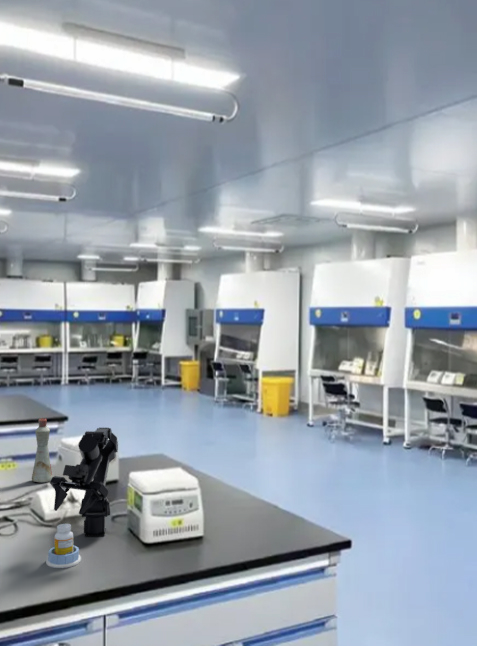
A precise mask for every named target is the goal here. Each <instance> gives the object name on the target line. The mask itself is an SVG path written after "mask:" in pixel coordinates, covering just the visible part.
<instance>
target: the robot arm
mask: <svg viewBox="0 0 477 646" xmlns="http://www.w3.org/2000/svg"><path fill="white" fill-rule="evenodd" d="M112 431H113V430H112V428H111V427H97V428H96V430H95V431H93V430H92V431H89V430H87V431H85V433H84V434H82V436H81V439H80V440H79V442H78V449H79V452H80V456H81V461H80V463H79V464H76V465H71V464H70V465H69V464H65V465H64V468H63V472H62V476H58V475H55V476H52V479H51V481H49V484H50V486H51V488H53V490H54V493H55V494H54V495H55V497H54V505H53V511H58V510H59V509H60V507H61V505H62V504H63V503H64V501H65V499H66V498H67V497H68V492H69V491H70V489H72V490H78V491H85V492H84V496H83V498H81V503H80V504H81V505H80V508H79V510H78V514H79V515H81V517H82V518H84V520H83V534H84V537H104V536H106V532H107V527H106V518H108V516H111V504H110V501H109V499H108V497H107V496H108V495H109V489H108V487H107V485H106V484H107V483H106V482H107V478H108V471H109V466H110V463H111V462H112V461H113V460H115V458H116V454H117V453H118V450H119V440H118V437H117V436H116V435H115V433H113V432H112ZM65 476H67V477H68V480H70V481H68V480H67V479H66V478H65Z"/></svg>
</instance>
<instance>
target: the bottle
mask: <svg viewBox="0 0 477 646" xmlns="http://www.w3.org/2000/svg"><path fill="white" fill-rule="evenodd" d="M47 424H48V421H47V418H43V417H42V418H39V419H38V427H37V428H36V429H35V438H36V445H37V447H36V452H35V459H34V465H33V469H32V474H31V481H32V482H34V483H35V482H36V483H40V484H41V483H42V484H43V483H45V482H46V483H50V481H51V479H52V477H53V471H52V464H51V460H50V451H49V445H48V444H49V439H50V432H51V429H50V428H49V427H48V426H47Z"/></svg>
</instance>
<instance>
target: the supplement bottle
mask: <svg viewBox="0 0 477 646" xmlns="http://www.w3.org/2000/svg"><path fill="white" fill-rule="evenodd" d="M73 545H74V532H73V531H72V525H71V524H70V523H60V524H58V525H57V526H56V533H54V547H55V554H56V555H67V554H71V553H73Z"/></svg>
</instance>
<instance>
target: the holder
mask: <svg viewBox="0 0 477 646" xmlns="http://www.w3.org/2000/svg"><path fill="white" fill-rule="evenodd" d="M81 561H82V555H80V547H78V546H76V545H74V544H73V553H71V554H67V555H56V554H55V546H53V547H51V548H50V549H49V550H48V553H47V557H46V560H45V562H46V563H45V564H46V566H48V567H49V568H54V569H66V568H67V569H68V568H71V567H75V566H76V565H78V564H80V563H81Z"/></svg>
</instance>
